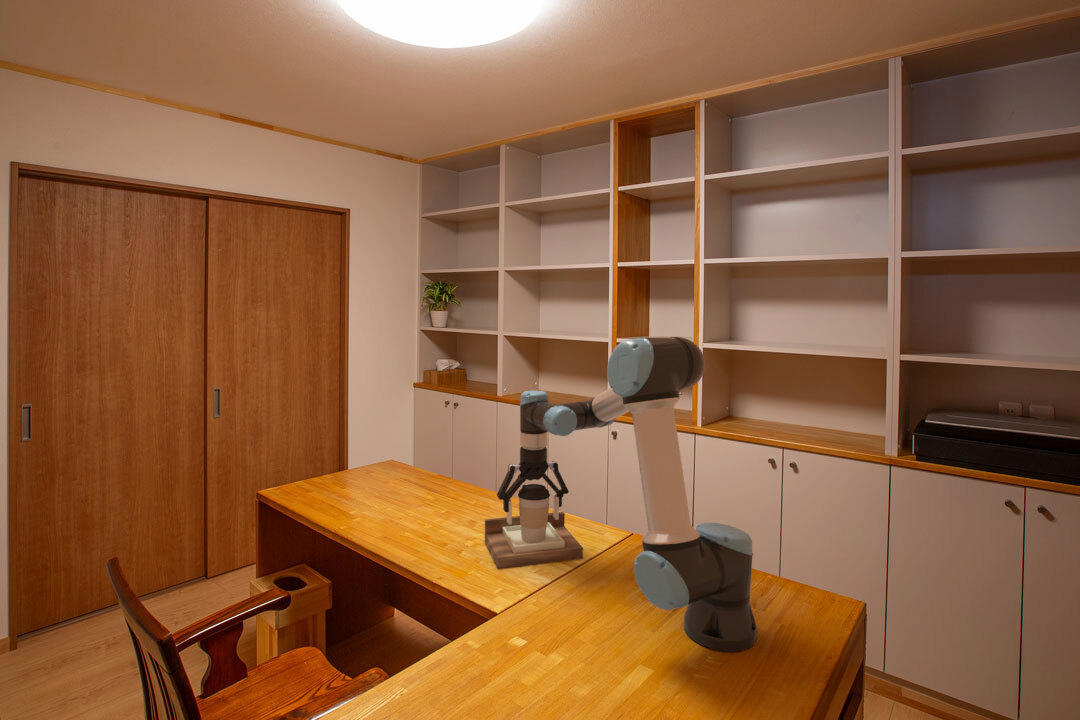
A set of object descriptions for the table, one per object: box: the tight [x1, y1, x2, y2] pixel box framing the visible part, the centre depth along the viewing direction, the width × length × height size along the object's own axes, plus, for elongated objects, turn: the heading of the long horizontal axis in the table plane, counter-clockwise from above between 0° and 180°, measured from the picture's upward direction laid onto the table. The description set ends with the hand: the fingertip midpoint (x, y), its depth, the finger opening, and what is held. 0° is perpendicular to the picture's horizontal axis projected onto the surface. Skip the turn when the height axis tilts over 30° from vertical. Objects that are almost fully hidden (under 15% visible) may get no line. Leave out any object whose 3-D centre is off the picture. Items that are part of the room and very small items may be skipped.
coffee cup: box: [517, 483, 551, 543], centre depth 168 cm, size 9×9×15 cm
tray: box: [502, 522, 564, 553], centre depth 169 cm, size 14×14×2 cm
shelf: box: [484, 511, 584, 569], centre depth 169 cm, size 17×24×7 cm
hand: (532, 520), depth 168 cm, fingers open, 13 cm apart
